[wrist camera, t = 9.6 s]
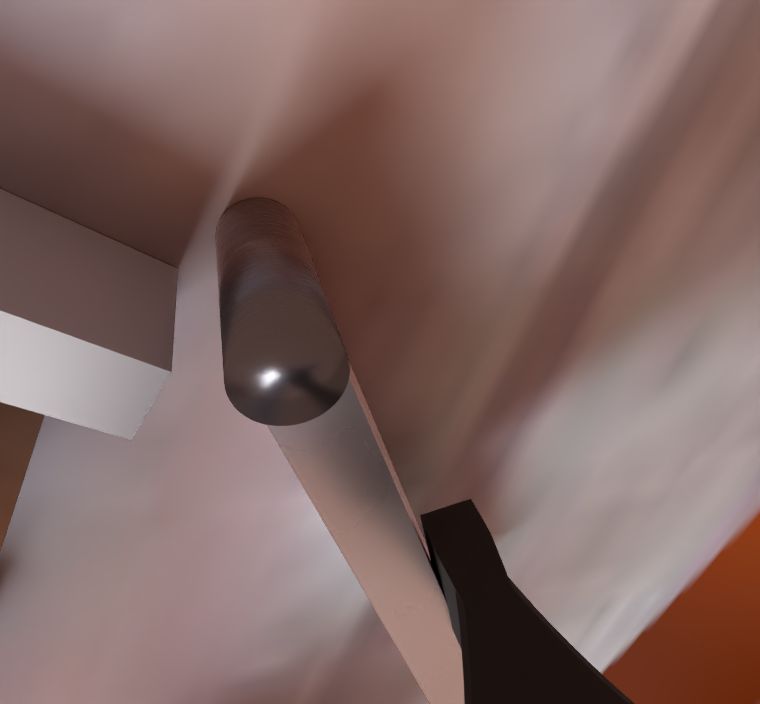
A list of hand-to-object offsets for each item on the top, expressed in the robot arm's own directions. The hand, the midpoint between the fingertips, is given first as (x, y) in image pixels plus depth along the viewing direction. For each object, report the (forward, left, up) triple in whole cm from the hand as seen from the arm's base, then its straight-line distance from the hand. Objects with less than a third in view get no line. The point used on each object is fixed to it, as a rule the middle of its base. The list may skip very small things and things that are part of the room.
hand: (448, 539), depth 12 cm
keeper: (0, +1, -3) cm, 3 cm away
